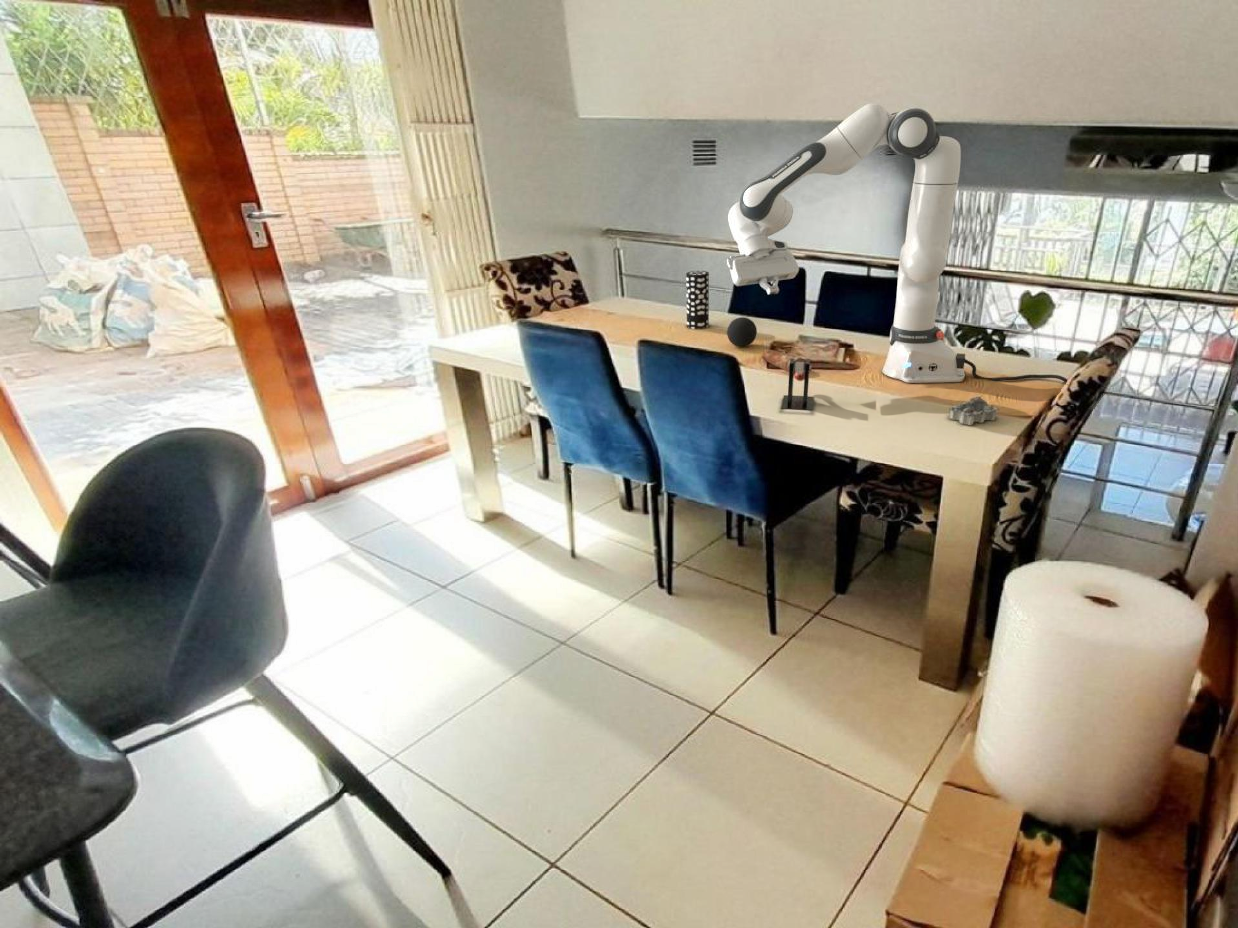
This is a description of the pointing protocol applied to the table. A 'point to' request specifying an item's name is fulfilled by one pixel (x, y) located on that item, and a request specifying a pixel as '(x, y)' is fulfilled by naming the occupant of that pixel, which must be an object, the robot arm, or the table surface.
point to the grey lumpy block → (973, 411)
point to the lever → (799, 371)
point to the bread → (780, 359)
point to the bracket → (798, 401)
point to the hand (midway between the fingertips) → (773, 292)
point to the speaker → (741, 332)
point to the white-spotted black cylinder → (697, 299)
